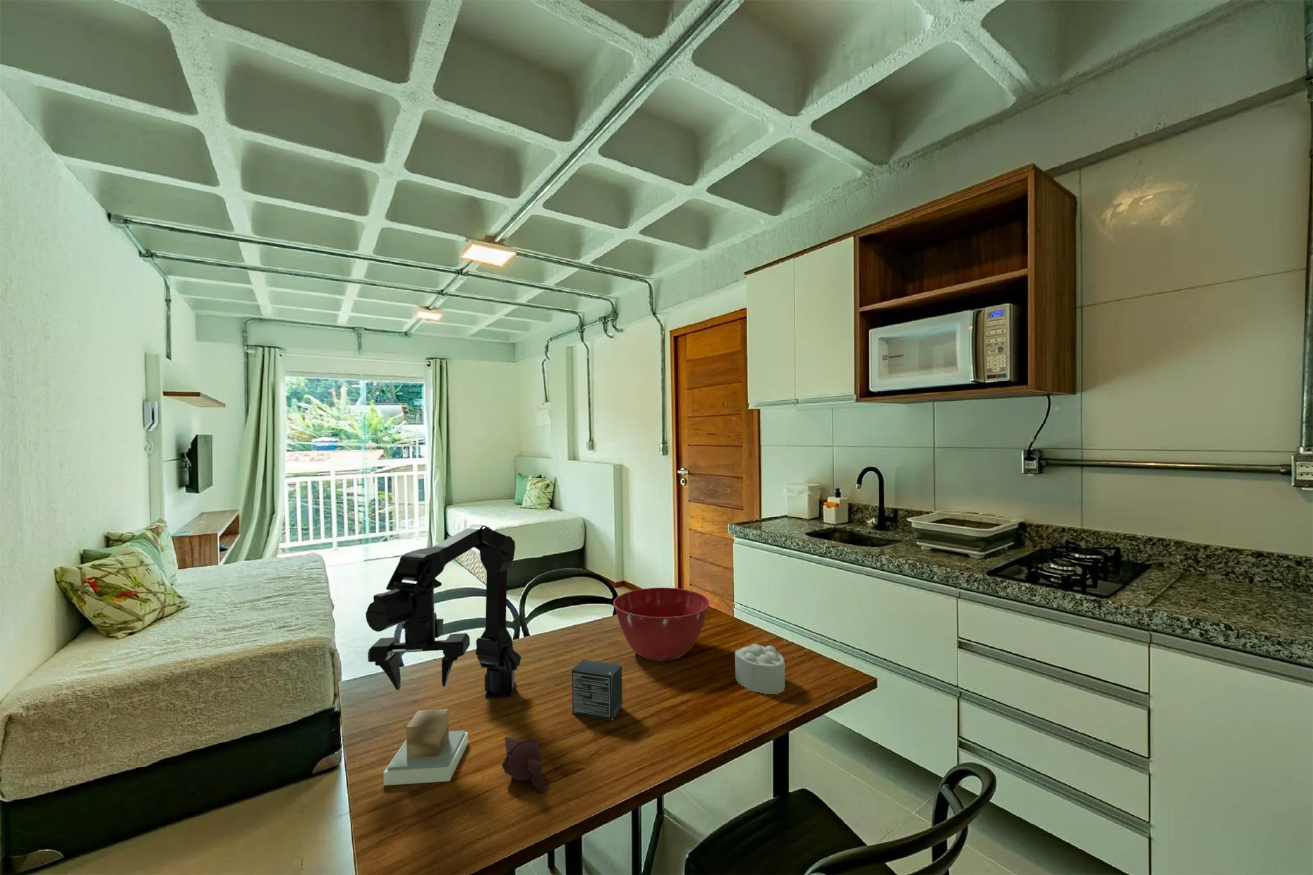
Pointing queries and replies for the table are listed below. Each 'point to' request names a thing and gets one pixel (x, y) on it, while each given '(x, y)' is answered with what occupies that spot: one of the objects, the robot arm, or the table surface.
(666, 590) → the mixing bowl
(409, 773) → the pedestal
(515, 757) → the maroon toy figure
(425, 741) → the oak cube
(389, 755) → the table surface
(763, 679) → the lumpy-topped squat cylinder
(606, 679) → the small box
